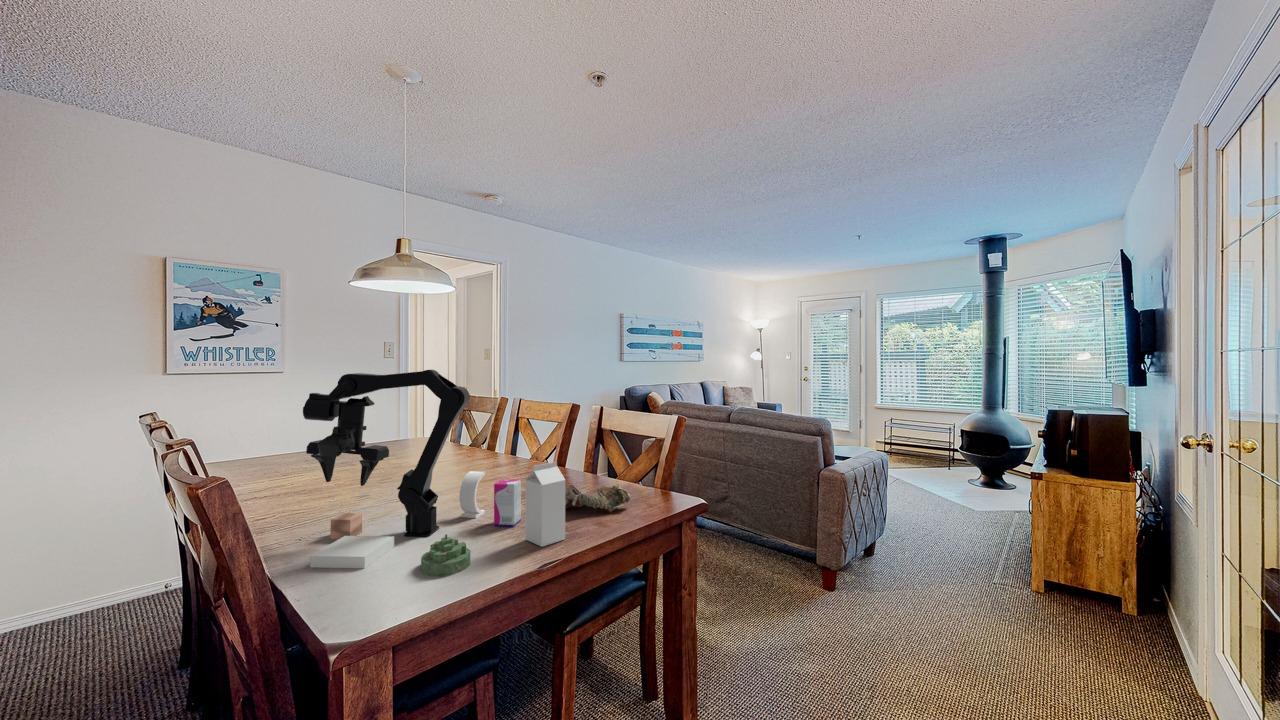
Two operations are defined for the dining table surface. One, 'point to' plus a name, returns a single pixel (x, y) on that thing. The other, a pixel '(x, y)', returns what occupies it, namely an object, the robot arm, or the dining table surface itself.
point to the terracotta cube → (346, 525)
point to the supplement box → (507, 503)
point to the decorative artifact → (445, 558)
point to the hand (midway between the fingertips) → (345, 483)
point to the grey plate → (352, 552)
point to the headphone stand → (470, 495)
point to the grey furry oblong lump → (597, 497)
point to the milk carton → (545, 505)
